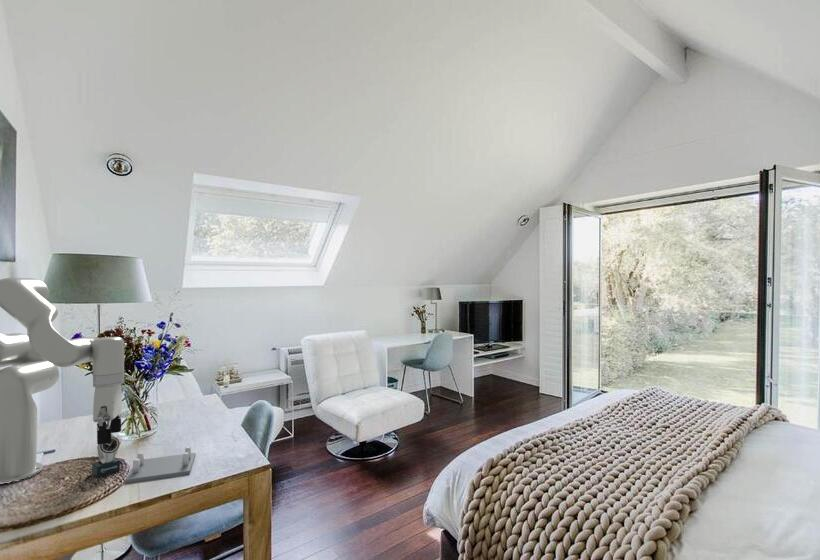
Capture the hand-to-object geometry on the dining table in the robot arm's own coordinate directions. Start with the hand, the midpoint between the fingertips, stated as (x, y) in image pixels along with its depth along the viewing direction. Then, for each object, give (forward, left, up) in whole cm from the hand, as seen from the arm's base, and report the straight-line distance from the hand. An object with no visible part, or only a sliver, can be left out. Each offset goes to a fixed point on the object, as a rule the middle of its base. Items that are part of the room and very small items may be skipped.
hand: (109, 437), depth 121 cm
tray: (+14, -3, -10) cm, 18 cm away
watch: (-1, 0, -10) cm, 10 cm away
